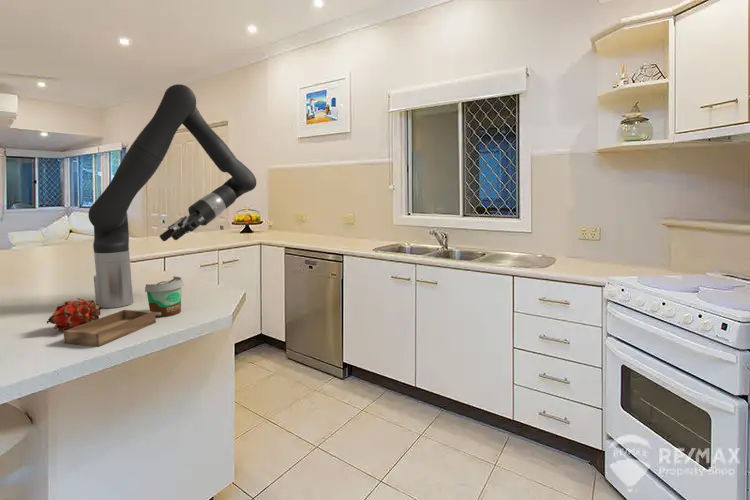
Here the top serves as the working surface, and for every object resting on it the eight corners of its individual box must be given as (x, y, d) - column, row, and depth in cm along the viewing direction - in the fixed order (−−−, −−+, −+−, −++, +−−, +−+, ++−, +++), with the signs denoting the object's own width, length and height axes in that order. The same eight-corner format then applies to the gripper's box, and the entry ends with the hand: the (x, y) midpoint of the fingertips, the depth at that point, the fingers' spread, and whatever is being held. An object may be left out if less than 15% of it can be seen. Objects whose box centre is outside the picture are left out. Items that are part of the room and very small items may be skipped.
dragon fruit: (107, 328, 109) (55, 347, 100) (93, 306, 112) (41, 323, 103) (108, 308, 104) (53, 326, 95) (93, 286, 107) (38, 302, 98)
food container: (166, 320, 111) (163, 285, 109) (147, 319, 112) (144, 284, 110) (194, 308, 123) (192, 276, 121) (176, 307, 124) (174, 276, 122)
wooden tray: (64, 343, 94) (63, 331, 93) (125, 320, 111) (124, 309, 110) (99, 346, 92) (98, 334, 91) (155, 322, 109) (155, 311, 109)
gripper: (190, 201, 133) (149, 229, 123) (211, 196, 123) (168, 226, 114) (204, 219, 136) (165, 248, 126) (225, 216, 127) (185, 247, 117)
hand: (167, 238), depth 120 cm, fingers open, 8 cm apart
